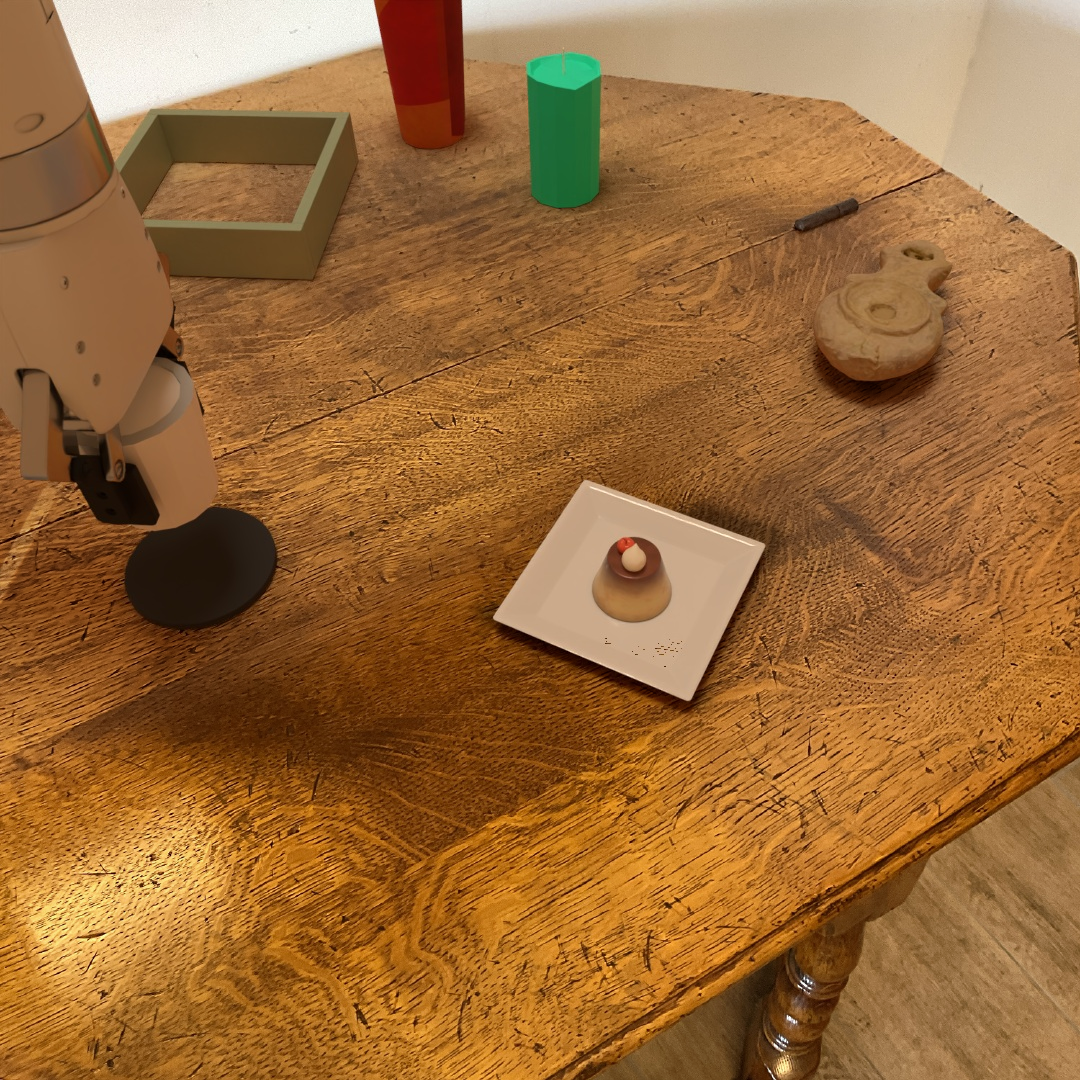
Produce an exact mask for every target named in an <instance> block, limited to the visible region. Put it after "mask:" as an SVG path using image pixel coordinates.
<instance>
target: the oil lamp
mask: <svg viewBox="0 0 1080 1080" xmlns="http://www.w3.org/2000/svg"><path fill="white" fill-rule="evenodd" d="M879 269H880V270H877V271H876V272H873V273H849V274H847V275H846V276H845V278H844V279H843V285H842V287H839V288H836V289H835V290H834V291H832V292H830V293H828V295H827V296H825V298H823V299H822V300H821V301H820V302H819V304H817V307H816V308H815V311H814V313H813V319H812V331H813V336H814V339H815V341H816V344H817V347H818V348H819V350H820V351H821V353H822V354H823V356H824V357H825V358H826V360H827V361H828V362H829V364H830V365H831V366H832V367H833V368H835V369H836V370H837V371H839V372H840V373H842V374H843V375H845V376H846V377H848V378H851V379H852V380H855V381H863V382H879V381H885V380H889V379H894V378H898V377H901V376H904V375H907V374H909V373H913V372H915V371H917V370H919V369H920V368H922V367H923V366H925V365H926V364H928V362H929V361H930V360H931V359H932V358H933V356H934V355H935V354H936V352H937V350H938V349H939V347H940V345H941V342H942V339H943V336H944V321H943V315H944V314H945V313H946V311H947V310H948V308H949V303H948V301H947V300H946V299H944V298H943V297H941V296H939V295H938V294H937V293H935V291H937V290H938V289H939V287H940V286H941V285H942V284H943V283H944V282H945V281H946V279H947V278H948V277H949V276H950V274H951V271H952V270H953V263H952V262H951V261H948V260H946V254H945V251H944V249H942V247H940V246H939V245H938V244H936V243H935V242H933V241H928V240H925V239H915V240H909V241H906V242H902V243H899V244H895V245H885V246H883V247H882V248H881V249H880V252H879Z"/></svg>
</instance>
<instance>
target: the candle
mask: <svg viewBox="0 0 1080 1080" xmlns="http://www.w3.org/2000/svg"><path fill="white" fill-rule="evenodd" d="M526 86H527V89H526V90H527V109H528V110H527V114H528V137H529V138H528V139H529V163H530V164H529V165H530V166H529V167H530V189H531V190H530V191H531V196H532V197H533V198H534V199H535V200H537V201H538V203H540V204H541V205H544V206H549V207H552V208H555V209H563V208H564V209H565V208H566V209H567V208H576V207H579V206H583V205H585V204H588V203H591V202H592V200H594V199H595V198H596V196H597V195H598V194H599V193H600V157H601V156H600V155H601V154H600V152H601V151H600V149H601V148H600V145H601V101H602V100H601V97H602V96H601V94H602V69H601V61H600V60H598V59H597V58H594V57H593V56H591V55H590V54H584V53H578V52H573V51H570V52H565V47H562V53H555V54H547V55H544V56H538V57H535V58H533V59H531V60H529V61H527V62H526Z"/></svg>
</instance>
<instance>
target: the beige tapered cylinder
mask: <svg viewBox="0 0 1080 1080" xmlns="http://www.w3.org/2000/svg"><path fill="white" fill-rule="evenodd" d="M190 376H191V375H190ZM190 376H189V374H188V373H187V371H186V369H185V368H184V367H182V366H181V365H179V364H177V363H175V362H173V361H171V360H169V359H167V358H161V357H154V359H153V361H152V363H151V365H150V367H149V369H148V371H147V373H146V375H145V377H144V379H143V381H142V383H141V385H140V387H139V389H138V391H137V393H136V395H135V397H134V398H133V400H132V402H131V404H130V406H129V408H128V410H127V411H126V413H125V415H124V416H123V418H122V419H121V420H120V421H119V427H120V434H121V440H122V446H123V452H124V458H125V463H131V464H134V465H136V466H137V468H138V470H139V472H140V474H141V476H142V478H143V480H144V482H145V484H146V486H147V488H148V490H149V492H150V494H151V496H152V498H153V500H154V502H155V505H156V507H157V509H158V511H159V514H160V517H159V519H158V521H157V523H156V525H153V526H148V525H131V526H132V527H133V528H135V529H138V530H144V531H158V530H164V529H171V528H176V527H178V526H180V525H183V524H185V523H187V522H189V521H192V520H194V519H196V518H197V517H198V516H199V515H200V514H201V513H203V512H204V511H205V510H206V509H207V508H211V505H212V503H213V502H214V500H215V498H216V496H217V494H218V493H219V475H218V470H217V468H216V467H217V466H216V463H215V459H214V456H213V451H212V448H211V444H210V440H209V436H208V433H207V429H206V424H205V420H204V416H203V417H202V413H201V409H200V405H199V401H198V397H197V394H196V391H197V389H196V390H195V388H196V385H195V381H194V380H193V378H192V376H191V377H190ZM191 378H192V379H191ZM69 412H72V411H71V410H70V409H69ZM76 435H77V441H78V446H79V452H80V455H100V451H99V445H98V439H97V433H96V432H87V431H76Z"/></svg>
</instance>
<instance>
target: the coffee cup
mask: <svg viewBox="0 0 1080 1080" xmlns="http://www.w3.org/2000/svg"><path fill="white" fill-rule="evenodd" d="M373 4H374V9H375V14H376V19H377V23H378V24H377V25H378V29H379V34H380V39H381V44H382V50H383V54H384V60H385V64H386V68H387V73H388V79H389V83H390V89H391V94H392V98H393V103H394V108H395V113H396V117H397V123H398V127H399V130H400V135H401V138H402V140H403V141H404V142H405V143H406V144H408V145H410V146H412V147H414V148H417V149H425V150H435V149H442V148H446V147H450V146H452V145H454V144H456V143H457V142H459V141H460V140H461V139H462V138H463V137H464V135H465V132H466V98H465V97H466V96H465V95H466V94H465V93H466V91H465V90H466V89H465V58H464V57H465V55H464V52H465V51H464V23H463V19H464V18H463V0H373Z"/></svg>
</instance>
